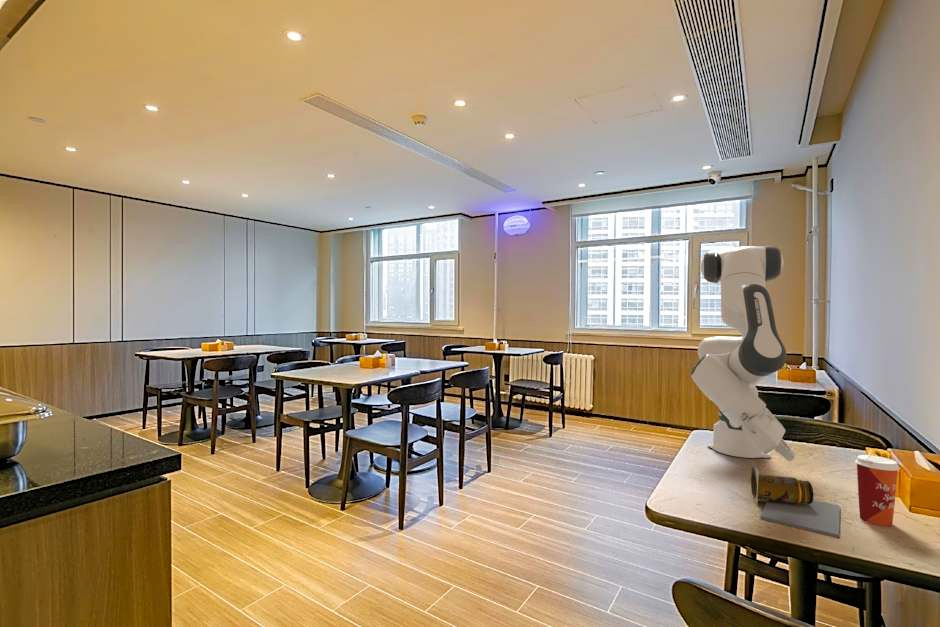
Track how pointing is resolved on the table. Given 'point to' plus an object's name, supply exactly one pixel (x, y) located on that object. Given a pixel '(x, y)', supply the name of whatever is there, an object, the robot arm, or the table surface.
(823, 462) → the table surface
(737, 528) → the table surface
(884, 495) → the paper cup
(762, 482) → the condiment
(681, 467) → the table surface
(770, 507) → the slate mat
